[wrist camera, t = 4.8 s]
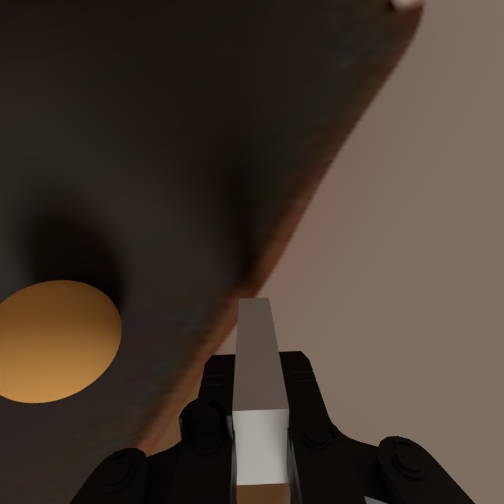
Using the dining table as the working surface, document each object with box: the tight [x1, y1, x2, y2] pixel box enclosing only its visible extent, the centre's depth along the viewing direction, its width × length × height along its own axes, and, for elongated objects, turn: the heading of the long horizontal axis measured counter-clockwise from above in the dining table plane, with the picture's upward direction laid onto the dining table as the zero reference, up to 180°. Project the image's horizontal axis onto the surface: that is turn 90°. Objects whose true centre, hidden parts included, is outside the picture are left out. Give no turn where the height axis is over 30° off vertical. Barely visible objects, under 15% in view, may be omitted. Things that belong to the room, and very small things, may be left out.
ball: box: [0, 280, 122, 403], centre depth 13 cm, size 6×6×6 cm
